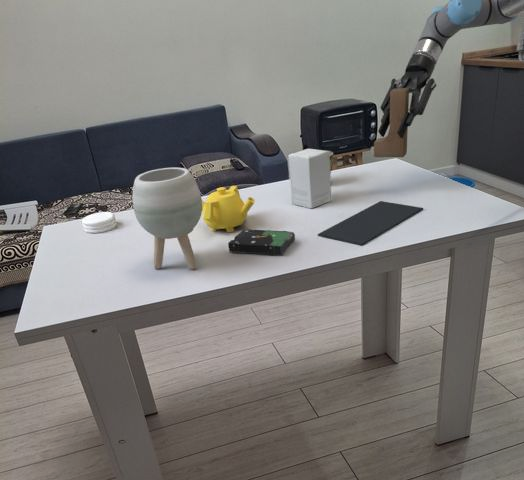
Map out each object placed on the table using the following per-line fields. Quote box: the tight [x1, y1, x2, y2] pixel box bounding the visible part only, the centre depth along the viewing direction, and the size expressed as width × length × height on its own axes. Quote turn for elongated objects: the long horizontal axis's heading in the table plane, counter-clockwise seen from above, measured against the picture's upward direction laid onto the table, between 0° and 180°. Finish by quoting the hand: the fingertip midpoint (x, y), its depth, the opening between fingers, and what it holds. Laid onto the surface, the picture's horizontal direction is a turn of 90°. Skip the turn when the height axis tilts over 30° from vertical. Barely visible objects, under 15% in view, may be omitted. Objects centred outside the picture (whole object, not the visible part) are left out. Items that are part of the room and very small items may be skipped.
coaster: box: [81, 211, 118, 234], centre depth 165 cm, size 10×10×4 cm
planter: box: [132, 167, 203, 271], centre depth 130 cm, size 16×16×22 cm
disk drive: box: [227, 228, 296, 256], centre depth 139 cm, size 10×3×15 cm
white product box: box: [288, 148, 332, 209], centre depth 162 cm, size 9×9×15 cm
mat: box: [317, 200, 424, 247], centre depth 146 cm, size 14×30×1 cm, turn 137°
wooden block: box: [373, 88, 410, 158], centre depth 156 cm, size 9×4×18 cm, turn 67°
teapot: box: [202, 185, 255, 233], centre depth 152 cm, size 20×18×11 cm
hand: (390, 134), depth 153 cm, fingers closed on wooden block, 5 cm apart
